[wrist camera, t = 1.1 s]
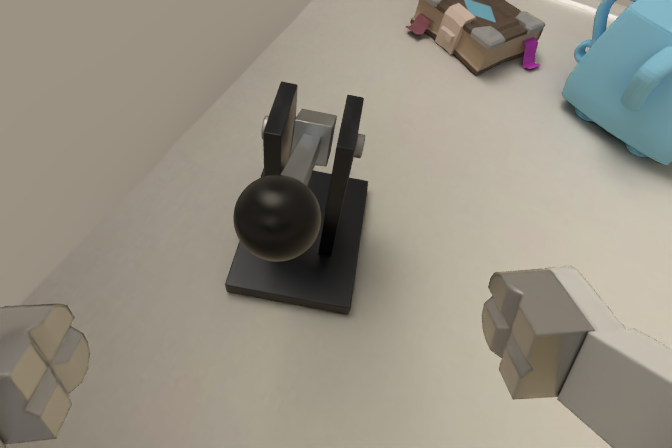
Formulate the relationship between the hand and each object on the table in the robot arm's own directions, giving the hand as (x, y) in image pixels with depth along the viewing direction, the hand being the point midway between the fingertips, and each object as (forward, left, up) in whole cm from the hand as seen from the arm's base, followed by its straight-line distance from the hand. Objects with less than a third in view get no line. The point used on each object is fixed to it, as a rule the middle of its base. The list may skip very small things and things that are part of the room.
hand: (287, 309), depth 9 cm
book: (+17, +47, -22) cm, 55 cm away
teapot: (+36, +33, -22) cm, 54 cm away
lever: (0, +10, -9) cm, 13 cm away
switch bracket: (0, +15, -21) cm, 26 cm away
